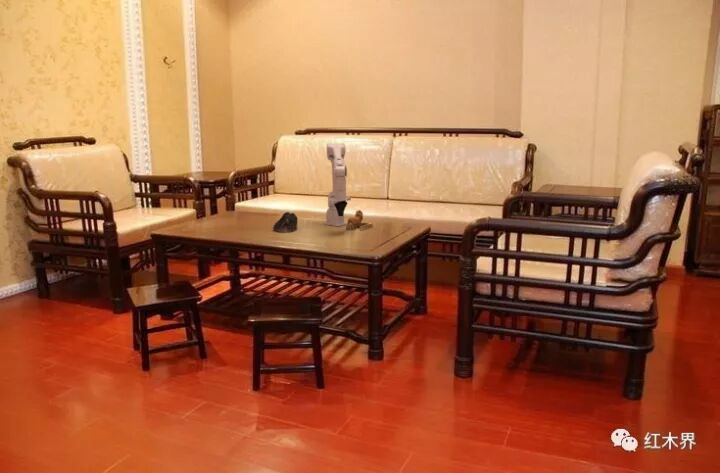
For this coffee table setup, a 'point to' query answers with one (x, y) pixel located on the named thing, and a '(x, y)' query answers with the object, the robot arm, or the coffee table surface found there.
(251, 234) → the coffee table surface
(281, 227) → the crystal cluster
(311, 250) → the coffee table surface
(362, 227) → the wooden frame
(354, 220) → the lion figurine
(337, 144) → the robot arm
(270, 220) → the coffee table surface
